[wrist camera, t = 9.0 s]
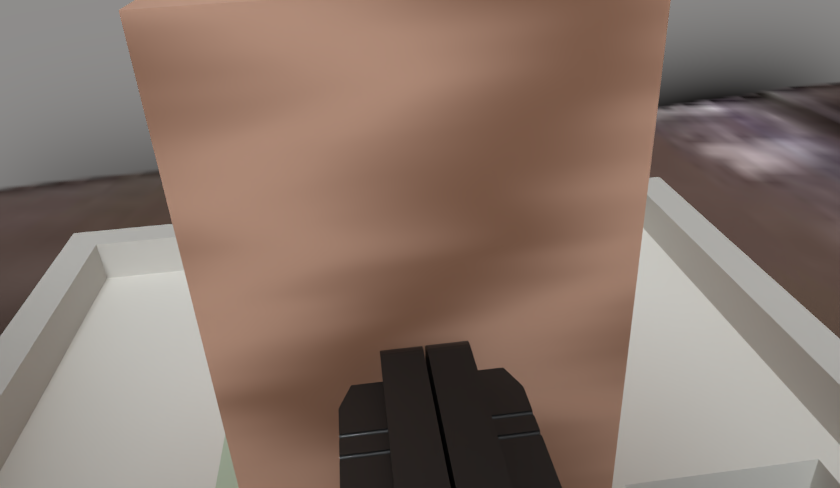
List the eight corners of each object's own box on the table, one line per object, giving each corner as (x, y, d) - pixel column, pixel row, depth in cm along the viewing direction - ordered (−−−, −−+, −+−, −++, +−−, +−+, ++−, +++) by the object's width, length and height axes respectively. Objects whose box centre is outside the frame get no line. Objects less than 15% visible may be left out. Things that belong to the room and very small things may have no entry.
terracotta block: (271, 617, 14) (118, 9, 8) (297, 286, 25) (240, -67, 20) (602, 571, 15) (674, -29, 9) (482, 267, 26) (479, -81, 20)
